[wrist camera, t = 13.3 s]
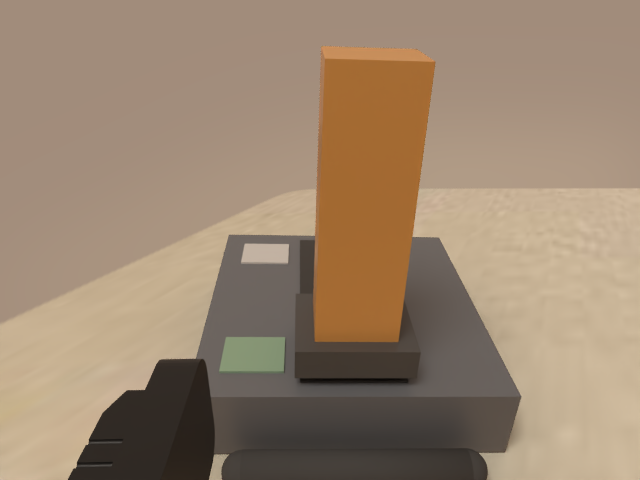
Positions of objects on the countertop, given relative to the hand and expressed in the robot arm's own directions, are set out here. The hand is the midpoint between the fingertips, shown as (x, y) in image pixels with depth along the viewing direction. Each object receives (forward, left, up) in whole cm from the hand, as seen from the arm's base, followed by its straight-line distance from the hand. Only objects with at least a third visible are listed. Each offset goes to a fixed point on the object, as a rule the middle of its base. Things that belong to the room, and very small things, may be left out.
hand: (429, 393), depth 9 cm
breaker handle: (0, -9, -6) cm, 11 cm away
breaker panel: (0, -13, -10) cm, 16 cm away
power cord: (0, -5, -10) cm, 11 cm away
